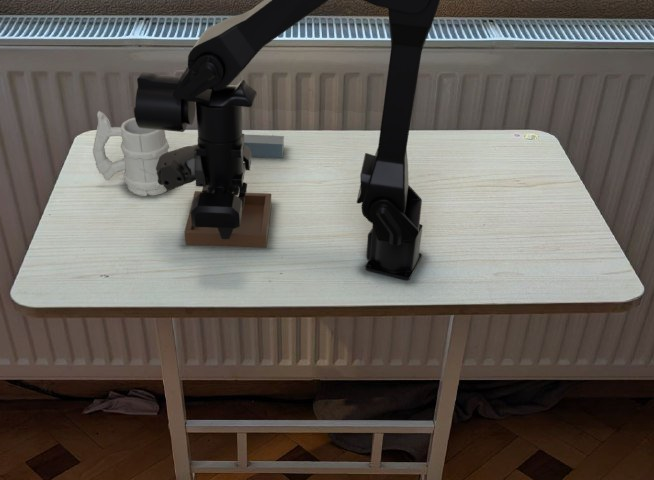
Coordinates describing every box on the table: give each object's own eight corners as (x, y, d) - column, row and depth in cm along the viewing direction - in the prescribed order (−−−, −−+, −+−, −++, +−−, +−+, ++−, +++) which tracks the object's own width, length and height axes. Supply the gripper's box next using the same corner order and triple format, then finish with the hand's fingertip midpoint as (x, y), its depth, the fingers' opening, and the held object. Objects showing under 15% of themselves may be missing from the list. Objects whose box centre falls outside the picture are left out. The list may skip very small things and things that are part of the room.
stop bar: (282, 158, 139) (282, 144, 137) (210, 155, 139) (209, 141, 137) (283, 149, 141) (283, 135, 139) (213, 146, 141) (212, 132, 139)
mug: (174, 196, 129) (165, 122, 120) (96, 198, 128) (82, 124, 119) (175, 172, 134) (167, 100, 126) (100, 174, 133) (88, 101, 125)
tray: (266, 247, 119) (266, 235, 118) (185, 245, 119) (184, 232, 118) (271, 205, 128) (271, 193, 126) (195, 203, 128) (194, 190, 126)
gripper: (169, 101, 114) (178, 202, 125) (144, 165, 100) (157, 273, 111) (250, 104, 114) (252, 205, 125) (237, 169, 100) (241, 276, 111)
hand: (225, 238), depth 118 cm, fingers closed
